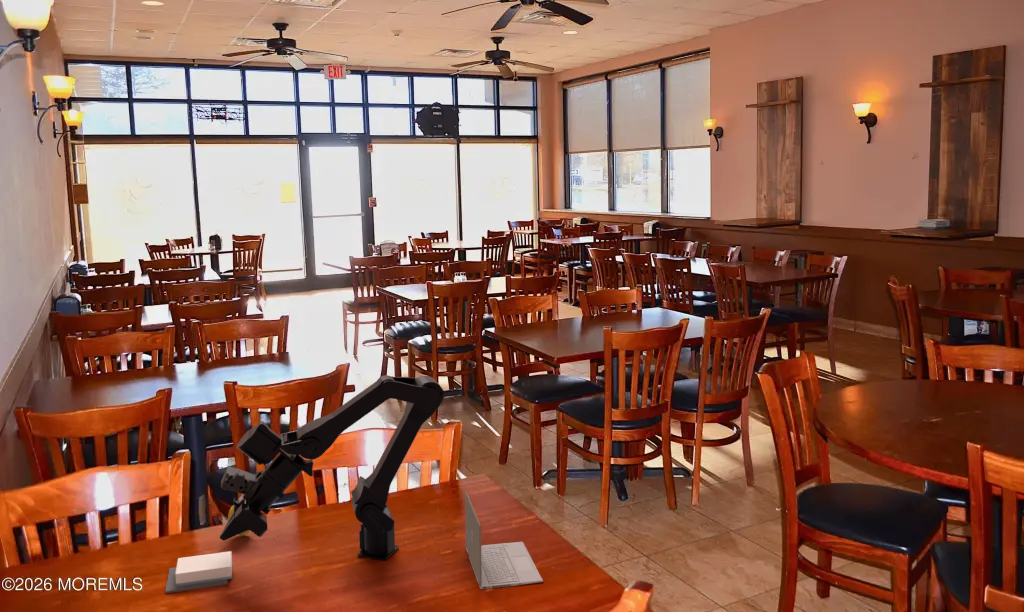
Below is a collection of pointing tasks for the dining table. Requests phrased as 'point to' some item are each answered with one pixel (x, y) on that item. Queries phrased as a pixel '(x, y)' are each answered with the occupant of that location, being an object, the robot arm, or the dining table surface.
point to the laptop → (497, 557)
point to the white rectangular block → (204, 568)
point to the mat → (173, 588)
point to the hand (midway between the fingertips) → (221, 538)
